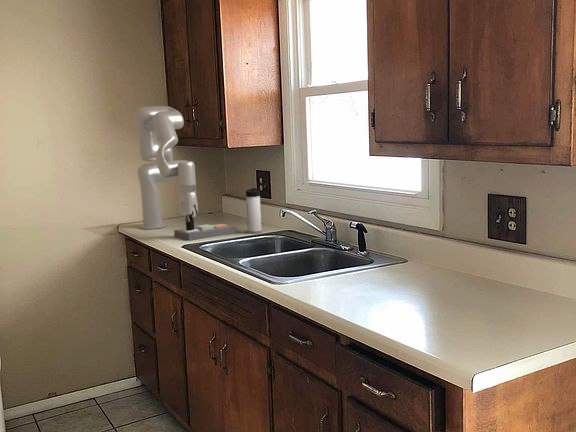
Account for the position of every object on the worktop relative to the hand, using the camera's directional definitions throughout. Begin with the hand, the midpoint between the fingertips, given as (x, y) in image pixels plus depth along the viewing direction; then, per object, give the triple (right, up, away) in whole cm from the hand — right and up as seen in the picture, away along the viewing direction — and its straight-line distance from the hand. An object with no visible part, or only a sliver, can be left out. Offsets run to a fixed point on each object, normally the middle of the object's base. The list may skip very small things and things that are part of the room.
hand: (190, 229), depth 291 cm
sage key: (+6, -1, +5) cm, 8 cm away
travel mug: (+28, -1, +7) cm, 29 cm away
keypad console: (+6, -2, +5) cm, 8 cm away
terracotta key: (+12, 0, +10) cm, 15 cm away
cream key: (0, -2, +1) cm, 2 cm away
